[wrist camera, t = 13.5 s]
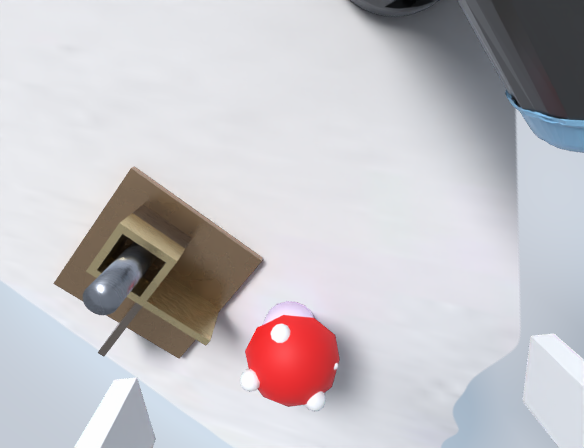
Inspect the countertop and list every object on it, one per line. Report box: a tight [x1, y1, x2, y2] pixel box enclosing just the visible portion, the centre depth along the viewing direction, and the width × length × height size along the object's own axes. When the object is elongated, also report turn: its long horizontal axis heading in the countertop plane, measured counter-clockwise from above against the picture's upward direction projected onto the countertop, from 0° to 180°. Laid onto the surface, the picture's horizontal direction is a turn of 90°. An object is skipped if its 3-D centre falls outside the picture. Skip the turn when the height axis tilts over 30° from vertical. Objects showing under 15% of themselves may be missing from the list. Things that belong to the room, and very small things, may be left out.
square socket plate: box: [54, 167, 262, 358], centre depth 42 cm, size 18×18×8 cm
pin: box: [83, 242, 157, 315], centre depth 37 cm, size 3×3×13 cm
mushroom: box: [240, 301, 340, 411], centre depth 43 cm, size 11×11×12 cm
